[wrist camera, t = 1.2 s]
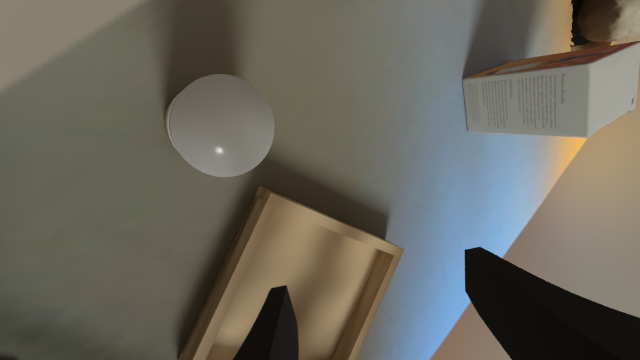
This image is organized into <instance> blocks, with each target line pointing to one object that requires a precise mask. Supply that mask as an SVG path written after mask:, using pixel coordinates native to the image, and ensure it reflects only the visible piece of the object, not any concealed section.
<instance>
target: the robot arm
mask: <svg viewBox="0 0 640 360" xmlns="http://www.w3.org/2000/svg"><path fill="white" fill-rule="evenodd" d="M465 291H466V293H467V294H468V296H469V298H470V300H471V302H472V304H473V305H474V307H475V309H476V310H477V312H478V314H479V315H480V317H481V318H482V320H483V321H484V322H485V324H486V325H487V327H488V328H489V329H490V331H491V332H492V333H493V335H494V336H495V338H496V339H497V340H498V341H499V343H500V344H501V345H502V347H503V348H504V350H505V351H506V352H507V354H508V355H509V356H510V358H511V359H512V360H640V318H638V317H635V316H632V315H629V314H626V313H623V312H620V311H617V310H615V309H612V308H609V307H606V306H604V305H601V304H598V303H596V302H593V301H591V300H588V299H586V298H583V297H581V296H578V295H576V294H573V293H571V292H569V291H567V290H564V289H562V288H560V287H558V286H555V285H553V284H551V283H549V282H547V281H545V280H543V279H541V278H539V277H537V276H535V275H533V274H531V273H529V272H527V271H525V270H523V269H521V268H519V267H517V266H515V265H513V264H512V263H510V262H508V261H506V260H504V259H502V258H500V257H499V256H497V255H495V254H493V253H491V252H489V251H487V250H485V249H483V248H481V247H477V248H472V249H467V250H465ZM298 359H299V342H298V325H297V320H296V317H295V313H294V310H293V306H292V303H291V299H290V295H289V292H288V288H287V285H284V286H279V287H274V288H271V290H270V291H269V293H268V295H267V298H266V300H265V302H264V304H263V306H262V308H261V310H260V312H259V314H258V316H257V318H256V320H255V322H254V324H253V326H252V328H251V330H250V332H249V333H248V335H247V337H246V338H245V340H244V342H243V344H242V345H241V347H240V349H239V350H238V352H237V354H236V355H235V357H234V358H233V360H298Z"/></svg>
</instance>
